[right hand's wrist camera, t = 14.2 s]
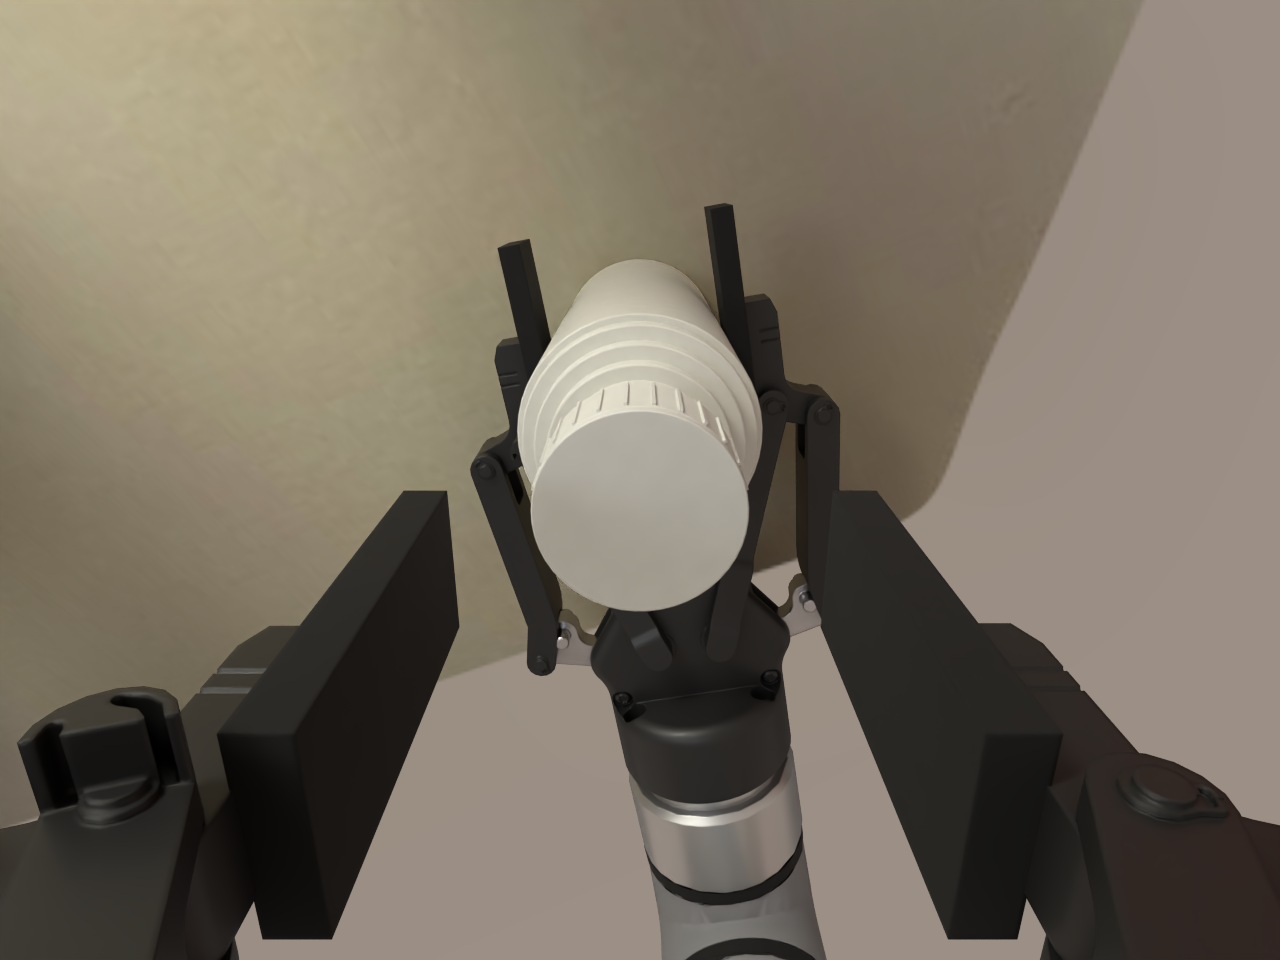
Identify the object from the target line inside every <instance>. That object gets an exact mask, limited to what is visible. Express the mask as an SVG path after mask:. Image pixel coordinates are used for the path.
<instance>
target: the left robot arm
mask: <svg viewBox="0 0 1280 960" xmlns="http://www.w3.org/2000/svg"><path fill="white" fill-rule="evenodd" d="M704 209H705V216H706V223H707V230H708V238H709V245H710V252H711V259H712V267H713V274H714V281H715V288H716V296H717V303H718V310H719V317H720V325H721V328H722V330H723V332H724V334H725V335H726V337H727V339H728V341H729V343H730V344H731V346H732V348H733V350H734V351H735V353H736V355H737V357H738V358H739V360H740V362H741V364H742V366H743V367H744V369H745V371H746V373H747V374H748V376H749V378H750V380H751V382H752V384H753V387H754V389H755V392H756V394H757V397H758V401H759V405H760V410H761V417H762V444H761V450H760V456H759V459H758V463H757V466H756V469H755V472H754V474H753V476H752V478H751V480H750V482H749V485H748V489H749V490H747V493H748V502H749V521H748V527H747V532H746V536H745V539H744V542H743V545H742V547H741V549H740V551H739V554H738V556H737V558H736V559H735V561H734V562H733V564H732V565H731V567H730V568H729V569H728V571H727V572H726V573H725V574H724V575H723V576H722V577H721V579H720V580H718V581H717V582H716V583H715V584H714V585H713V586H712V587H711V588H709V589H708V590H706V591H705V592H703V593H702V594H700V595H699V596H697V597H695V598H693V599H691V600H689V601H687V602H685V603H682V604H679V605H677V606H674V607H670V608H666V609H662V610H654V611H626V610H619V609H614V608H610V607H609V609H608V611H607V612H606V614H605V616H604V618H603V620H602V622H601V624H600V625H599V627H598V629H597V631H596V633H595V635H591V634H588V633H586V632H584V631H583V630H582V628H581V627H580V624H579V620H578V618H577V616H576V615H575V614H573V612H572V611H571V610H569V609H564V610H562V596H561V590H560V587H559V583H558V580H557V577H556V575H555V573H554V572H553V571H552V570H551V568H550V567H549V565H548V564H547V563H546V561H545V560H544V558H543V556H542V554H541V552H540V550H539V548H538V545H537V542H536V540H535V537H534V533H533V528H532V523H531V503H530V500H529V497H528V495H527V492H526V489H525V486H524V483H523V480H522V477H521V475H520V472H519V469H518V468H519V467H520V466H523V463H522V461H521V456H520V451H519V446H518V433H517V427H518V414H519V409H520V404H521V400H522V397H523V394H524V391H525V388H526V386H527V384H528V382H529V380H530V378H531V376H532V374H533V372H534V370H535V368H536V367H537V365H538V363H539V361H540V360H541V358H542V356H543V354H544V352H545V351H546V349H547V347H548V345H549V344H550V342H551V337H550V332H549V328H548V323H547V318H546V314H545V309H544V304H543V300H542V295H541V290H540V286H539V281H538V276H537V272H536V267H535V262H534V258H533V253H532V248H531V244H530V239H527V240H521V241H516V242H511V243H508V244H506V245H503V246H501V247H499V248H498V252H499V257H500V261H501V265H502V270H503V274H504V278H505V283H506V287H507V292H508V296H509V300H510V305H511V309H512V313H513V318H514V322H515V327H516V331H517V335H518V337H514V338H509V339H503V340H502V341H501V342H500V343H499V345H498V346H497V348H496V355H495V365H496V369H497V373H498V376H499V381H500V385H501V390H502V394H503V398H504V402H505V406H506V410H507V414H508V419H509V425H510V427H509V430H507V431H506V432H504V433H503V434H501V435H499V436H497V437H492V438H490V439H488V440H487V441H486V442H485V443H484V444H483V446H482V448H481V449H480V451H479V453H478V454H477V456H476V458H475V459H474V461H473V463H472V465H471V469H470V471H471V476H472V479H473V481H474V484H475V487H476V489H477V492H478V495H479V497H480V500H481V503H482V505H483V508H484V511H485V513H486V516H487V519H488V521H489V524H490V527H491V529H492V532H493V535H494V538H495V540H496V543H497V546H498V548H499V551H500V554H501V556H502V559H503V562H504V564H505V567H506V570H507V572H508V575H509V578H510V580H511V583H512V586H513V588H514V591H515V594H516V596H517V599H518V602H519V604H520V607H521V610H522V613H523V615H524V618H525V621H526V623H527V626H528V646H527V666H528V668H529V670H530V671H531V672H532V673H534V674H535V675H539V676H545V675H548V674H550V673H552V671H553V670H554V669H555V666H556V664H570V665H585V666H591V667H592V669H593V671H594V673H595V674H596V675H597V677H598V678H599V679H601V680H602V681H603V683H604V684H605V685H606V687H607V688H608V690H609V693H610V696H611V700H612V704H613V709H614V713H615V718H616V722H617V727H618V731H619V736H620V740H621V745H622V749H623V754H624V758H625V762H626V766H627V768H628V770H629V772H630V777H629V782H630V786H631V790H632V794H633V799H634V803H635V807H636V811H637V815H638V820H639V824H640V828H641V832H642V837H643V841H644V846H645V851H646V854H647V858H648V861H649V864H650V869H651V874H652V880H653V885H654V891H655V896H656V901H657V907H658V913H659V920H660V928H661V946H662V960H826V956H825V951H824V947H823V943H822V939H821V935H820V931H819V927H818V923H817V918H816V913H815V909H814V904H813V898H812V893H811V886H810V880H809V874H808V868H807V862H806V856H805V850H804V844H803V831H802V815H801V808H800V800H799V793H798V786H797V779H796V772H795V765H794V757H793V751H792V749H791V747H790V743H791V734H790V727H789V719H788V711H787V704H786V696H785V689H784V681H783V674H782V661H783V657H784V655H785V652H786V650H787V648H788V646H789V643H790V637H791V636H793V635H796V634H799V633H801V632H804V631H807V630H809V629H812V628H814V627H817V626H820V625H821V617H822V606H823V595H824V584H825V573H826V562H827V551H828V540H829V529H830V518H831V507H832V496H833V491H839V458H840V411H839V408H838V406H837V405H836V404H835V402H834V401H833V400H832V399H831V398H830V397H829V396H828V394H827V393H826V392H825V391H824V390H823V389H822V388H821V387H819V386H818V385H814V384H809V385H801V384H796V383H792V382H789V381H787V380H785V376H784V368H783V359H782V351H781V342H780V333H779V324H778V315H777V311H776V309H775V307H774V305H773V303H772V302H771V300H770V298H769V297H767V296H766V295H765V294H759V295H754V296H748V297H744V291H743V283H742V275H741V267H740V259H739V251H738V244H737V236H736V228H735V220H734V212H733V205H730V204H726V203H723V204H717V205H712V206H706V207H704ZM786 422H791V423H796V546H797V557H798V562H799V566H800V569H801V572H802V574H801V573H800V574H796V575H795V576H794V577H793V579H792V580H791V582H790V583H789V587H788V588H789V598H788V600H787V602H786V603H785V604H784V605H782V606H780V607H778V606H777V605H776V604H775V603H773V602H772V601H771V600H770V599H769V598H768V597H767V596H766V595H765V594H764V593H763V592H761V591H760V590H759V589H758V588H757V587H756V586H755V585H754V584H753V583H752V582H751V579H752V574H753V559H754V553H755V549H756V545H757V541H758V537H759V532H760V528H761V524H762V520H763V516H764V512H765V507H766V503H767V499H768V495H769V491H770V486H771V482H772V478H773V474H774V470H775V465H776V461H777V457H778V453H779V449H780V444H781V440H782V436H783V432H784V428H785V423H786ZM523 468H524V466H523Z"/></svg>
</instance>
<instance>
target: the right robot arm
mask: <svg viewBox="0 0 1280 960" xmlns="http://www.w3.org/2000/svg"><path fill="white" fill-rule="evenodd" d="M458 629H459V617H458V606H457V595H456V584H455V573H454V562H453V551H452V540H451V529H450V518H449V507H448V496H447V491H403V492H402V494H401V495H400V496H399V498H398V499H397V500H396V501H395V503H394V504H393V505H392V507H391V508H390V509H389V511H388V512H387V513H386V514H385V516H384V517H383V518H382V520H381V521H380V522H379V524H378V525H377V526H376V527H375V529H374V530H373V531H372V533H371V534H370V535H369V536H368V538H367V539H366V540H365V542H364V543H363V544H362V546H361V547H360V548H359V549H358V551H357V552H356V553H355V555H354V556H353V557H352V559H351V560H350V561H349V562H348V564H347V565H346V566H345V568H344V569H343V570H342V572H341V573H340V574H339V575H338V577H337V578H336V579H335V581H334V582H333V583H332V585H331V586H330V587H329V588H328V590H327V591H326V592H325V594H324V595H323V596H322V598H321V599H320V600H319V601H318V603H317V604H316V605H315V607H314V608H313V609H312V610H311V612H310V613H309V614H308V616H307V617H306V618H305V620H304V621H303V622H302V623H301V625H300V626H269V627H267V628H266V629H264V630H263V631H261V632H259V633H258V634H256V635H254V636H253V637H251V638H250V639H248V640H246V641H245V642H243V643H242V644H240V645H238V646H237V647H236V649H235V650H234V651H233V652H232V653H231V654H230V655H229V657H228V658H227V659H226V660H225V661H224V662H223V663H222V665H221V666H220V667H219V668H218V669H217V670H218V672H217V674H213V675H212V676H211V677H210V678H209V680H208V681H207V682H206V683H205V684H204V685H203V686H202V688H201V691H200V694H195V696H194V697H193V698H192V699H191V700H190V701H189V702H188V704H187V705H186V706H185V707H184V708H183V709H182V711H181V712H180V709H179V705H178V701H177V699H176V698H175V697H174V696H172V695H171V694H170V693H168V692H167V691H166V690H162V689H156V688H151V687H145V686H142V687H129V688H117V689H113V690H109V691H105V692H102V693H98V694H94V695H90V696H86V697H84V698H82V699H79V700H77V701H75V702H73V703H70V704H68V705H66V706H63V707H61V708H59V709H57V710H55V711H54V712H52V713H51V714H49V715H48V716H46V717H45V718H43V719H42V720H40V721H39V722H37V723H35V724H34V725H33V726H32V727H31V728H30V729H29V730H28V731H27V732H26V733H25V735H24V736H23V737H22V738H21V739H20V740H19V741H18V742H17V745H18V748H19V751H20V754H21V757H22V760H23V763H24V766H25V769H26V772H27V775H28V778H29V781H30V784H31V787H32V790H33V793H34V796H35V799H36V802H37V805H38V808H39V811H40V816H39V818H38V820H37V821H33V822H30V823H26V824H21V825H17V826H12V827H8V828H3V829H0V960H239V955H238V950H237V946H236V941H235V935H236V933H237V932H238V930H239V928H240V926H241V924H242V922H243V920H244V918H245V917H246V915H247V913H248V911H249V909H250V907H251V905H252V904H253V902H254V903H255V908H256V912H257V916H258V921H259V925H260V930H261V934H262V939H332V938H333V935H334V933H335V930H336V928H337V925H338V923H339V920H340V918H341V916H342V913H343V911H344V908H345V906H346V903H347V901H348V899H349V896H350V894H351V891H352V889H353V886H354V884H355V881H356V879H357V876H358V874H359V872H360V869H361V867H362V864H363V862H364V859H365V857H366V854H367V852H368V850H369V847H370V845H371V842H372V839H373V837H374V835H375V832H376V830H377V827H378V825H379V823H380V820H381V818H382V815H383V813H384V810H385V808H386V805H387V803H388V800H389V798H390V796H391V793H392V791H393V788H394V786H395V783H396V781H397V778H398V776H399V773H400V771H401V769H402V766H403V764H404V761H405V759H406V756H407V754H408V751H409V749H410V747H411V744H412V742H413V739H414V737H415V734H416V732H417V729H418V727H419V725H420V722H421V720H422V717H423V715H424V712H425V710H426V707H427V705H428V702H429V700H430V697H431V695H432V693H433V690H434V688H435V685H436V683H437V680H438V678H439V675H440V673H441V671H442V668H443V666H444V663H445V661H446V658H447V656H448V653H449V651H450V649H451V646H452V644H453V641H454V639H455V636H456V634H457V631H458ZM821 629H822V631H823V634H824V636H825V639H826V641H827V644H828V646H829V649H830V651H831V653H832V656H833V658H834V661H835V663H836V666H837V668H838V671H839V673H840V675H841V678H842V680H843V683H844V685H845V688H846V690H847V693H848V695H849V698H850V700H851V702H852V705H853V707H854V710H855V712H856V715H857V717H858V720H859V722H860V724H861V727H862V729H863V732H864V734H865V737H866V739H867V742H868V744H869V747H870V749H871V751H872V754H873V756H874V759H875V761H876V764H877V766H878V769H879V771H880V773H881V776H882V778H883V781H884V783H885V786H886V788H887V791H888V793H889V795H890V798H891V800H892V803H893V805H894V808H895V810H896V813H897V815H898V818H899V820H900V823H901V825H902V827H903V830H904V832H905V835H906V837H907V840H908V842H909V845H910V847H911V849H912V852H913V854H914V857H915V859H916V862H917V864H918V867H919V869H920V872H921V874H922V876H923V879H924V881H925V884H926V886H927V889H928V891H929V894H930V896H931V898H932V901H933V903H934V906H935V908H936V911H937V913H938V916H939V918H940V921H941V923H942V925H943V928H944V930H945V933H946V935H947V938H948V939H1018V934H1019V930H1020V925H1021V921H1022V916H1023V912H1024V907H1025V903H1026V899H1027V900H1028V901H1029V903H1030V905H1031V907H1032V909H1033V911H1034V913H1035V914H1036V916H1037V918H1038V920H1039V922H1040V924H1041V925H1042V927H1043V929H1044V931H1045V933H1046V937H1045V942H1044V946H1043V950H1042V954H1041V958H1040V960H1280V825H1275V824H1271V823H1266V822H1261V821H1257V820H1252V819H1249V818H1245V817H1242V816H1241V814H1240V813H1239V811H1238V810H1237V809H1236V807H1235V806H1234V805H1233V803H1232V802H1231V801H1230V799H1229V798H1228V797H1227V795H1226V794H1225V793H1224V792H1222V791H1221V790H1220V789H1218V788H1217V787H1216V786H1214V785H1213V784H1212V783H1211V782H1209V781H1208V780H1207V779H1205V778H1204V777H1203V776H1201V775H1199V774H1197V773H1195V772H1193V771H1191V770H1189V769H1187V768H1185V767H1183V766H1181V765H1179V764H1177V763H1175V762H1172V761H1168V760H1165V759H1162V758H1158V757H1155V756H1151V755H1148V754H1143V753H1139V752H1138V751H1137V750H1136V749H1135V748H1134V747H1133V746H1132V744H1131V743H1130V742H1129V741H1128V740H1127V739H1126V738H1125V736H1124V735H1123V734H1122V733H1121V732H1120V731H1119V730H1118V728H1117V727H1116V726H1115V725H1114V724H1113V723H1112V722H1111V720H1110V719H1109V718H1108V717H1107V716H1106V715H1105V714H1104V713H1103V711H1102V710H1101V709H1100V708H1099V707H1098V706H1097V705H1096V703H1095V702H1094V701H1093V700H1092V699H1091V698H1090V697H1089V695H1088V694H1087V693H1086V692H1085V691H1081V690H1080V685H1079V684H1078V683H1077V682H1076V681H1075V679H1074V678H1073V677H1072V676H1071V675H1070V674H1069V673H1068V672H1067V671H1063V666H1062V665H1061V664H1060V662H1059V661H1058V660H1057V659H1056V658H1055V657H1054V655H1053V654H1052V653H1051V652H1050V651H1049V650H1048V649H1047V648H1046V646H1045V645H1044V644H1043V643H1042V642H1040V641H1038V640H1037V639H1035V638H1033V637H1032V636H1030V635H1029V634H1027V633H1025V632H1024V631H1022V630H1021V629H1019V628H1017V627H1016V626H1014V625H1012V624H1011V623H978V622H977V621H976V620H975V618H974V617H973V616H972V614H971V613H970V612H969V610H968V609H967V608H966V607H965V605H964V604H963V603H962V601H961V600H960V599H959V598H958V596H957V595H956V594H955V592H954V591H953V590H952V588H951V587H950V586H949V585H948V583H947V582H946V581H945V579H944V578H943V577H942V576H941V574H940V573H939V572H938V570H937V569H936V568H935V566H934V565H933V564H932V562H931V561H930V560H929V559H928V557H927V556H926V555H925V553H924V552H923V551H922V550H921V548H920V547H919V546H918V544H917V543H916V542H915V540H914V539H913V538H912V536H911V535H910V534H909V533H908V531H907V530H906V529H905V527H904V526H903V525H902V524H901V522H900V521H899V520H898V518H897V517H896V516H895V514H894V513H893V512H892V511H891V509H890V508H889V507H888V505H887V504H886V503H885V501H884V500H883V499H882V498H881V496H880V495H879V494H878V492H877V491H833V496H832V507H831V518H830V529H829V540H828V551H827V562H826V573H825V584H824V595H823V606H822V617H821Z"/></svg>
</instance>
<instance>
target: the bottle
mask: <svg viewBox="0 0 1280 960" xmlns="http://www.w3.org/2000/svg"><path fill="white" fill-rule="evenodd" d="M627 382H628V383H629V384H651V382H653V383H655V385H659V386H663V387H667V388H671V389H674V390H676V388H677V389H680V392H682V393H684V394H686V395H687V396H689V397H691V398H693V399H695V400H696V401H697V402H698V401H699V400H700V401H701V402H702V404H703V406H704V407H705V408H706V409H707V410H709V411H710V412H711V413H712V414H713V415H714V416H715V418H717V417H719V419H720V421H721V424H722V427H723V429H724V430H725V432H726V434H727V436H728V438H732V440H733V442H734V445H735V448H736V451H737V453H738V456H739V459H740V462H741V468H742V471H743V474H744V477H745V479H746V482H747V485H749V482H750V480H751V478H752V476H753V474H754V472H755V469H756V466H757V463H758V459H759V456H760V450H761V444H762V417H761V410H760V405H759V401H758V397H757V394H756V392H755V389H754V387H753V384H752V382H751V380H750V378H749V376H748V374H747V373H746V371H745V369H744V367H743V366H742V364H741V362H740V360H739V358H738V357H737V355H736V353H735V351H734V350H733V348H732V346H731V344H730V343H729V341H728V339H727V337H726V335H725V334H724V332H723V330H722V328H721V327H720V325H719V323H718V321H717V319H716V318H715V316H714V314H713V312H712V311H711V309H710V307H709V305H708V304H707V302H706V300H705V298H704V296H703V295H702V293H701V291H700V290H699V289H698V287H697V286H696V285H695V284H694V283H693V282H692V281H691V280H690V279H689V278H688V277H687V276H686V275H685V274H683V273H682V272H681V271H679V270H677V269H676V268H674V267H672V266H670V265H667V264H665V263H662V262H658V261H654V260H647V259H632V260H626V261H622V262H618V263H615V264H613V265H610V266H608V267H606V268H604V269H603V270H601V271H599V272H598V273H596V274H595V275H594V276H593V277H592V278H590V279H589V280H588V281H587V283H586V284H585V285H584V286H583V287H582V289H581V290H580V291H579V293H578V294H577V296H576V298H575V300H574V301H573V303H572V305H571V307H570V308H569V310H568V312H567V314H566V315H565V317H564V319H563V321H562V322H561V324H560V326H559V328H558V330H557V331H556V333H555V335H554V337H553V338H552V340H551V342H550V344H549V345H548V347H547V349H546V351H545V352H544V354H543V356H542V358H541V360H540V361H539V363H538V365H537V367H536V368H535V370H534V372H533V374H532V376H531V378H530V380H529V382H528V384H527V386H526V388H525V391H524V394H523V397H522V400H521V404H520V409H519V414H518V427H517V433H518V446H519V451H520V456H521V461H522V463H523V466H524V469H525V472H526V475H527V477H528V479H529V481H530V483H531V485H533V482H534V479H535V476H536V473H537V471H538V468H539V466H538V464H539V461H540V458H541V456H542V453H543V450H544V447H545V445H546V442H547V439H548V438H550V439H551V437H552V435H553V434H554V432H555V430H556V428H557V426H558V423H559V420H560V418H561V417H562V418H564V417H565V416H566V415H567V414H568V413H569V412H570V411H571V410H572V409H573V408H575V407H576V406H577V402H578V401H580V400H581V402H582V401H584V400H585V399H587V398H589V397H590V396H592V395H594V394H596V393H599V391H600V389H602V388H603V389H604V390H606V389H609V388H613V387H616V386H621V385H625V383H627Z"/></svg>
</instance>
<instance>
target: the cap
mask: <svg viewBox="0 0 1280 960" xmlns="http://www.w3.org/2000/svg"><path fill="white" fill-rule="evenodd" d="M538 466H539V468H538V471H537V473H536V476H535V479H534V482H533V485H532V488H531V490H532V491H533V493H532V498H531V523H532V528H533V533H534V537H535V540H536V542H537V545H538V548H539V550H540V552H541V554H542V556H543V558H544V560H545V561H546V563H547V564H548V565H549V567H550V568H551V570H552V571H553V572H554V573H555V574H556V575H557V576H558V578H559V579H560V580H561V581H562V582H564V583H565V584H566V585H567V586H568V587H569V588H571V589H572V590H573V591H575V592H577V593H578V594H580V595H581V596H583V597H585V598H587V599H589V600H591V601H593V602H595V603H598V604H600V605H603V606H606V607H610V608H614V609H619V610H626V611H654V610H662V609H666V608H670V607H674V606H677V605H679V604H682V603H685V602H687V601H689V600H691V599H693V598H695V597H697V596H699V595H700V594H702V593H703V592H705V591H706V590H708V589H709V588H711V587H712V586H713V585H714V584H715V583H716V582H717V581H718V580H720V579H721V577H722V576H723V575H724V574H725V573H726V572H727V571H728V569H729V568H730V567H731V565H732V564H733V562H734V561H735V559H736V558H737V556H738V554H739V551H740V549H741V547H742V545H743V542H744V539H745V536H746V532H747V527H748V521H749V502H748V493H747V490H749V489H748V485H747V482H746V479H745V477H744V474H743V471H742V468H741V462H740V459H739V456H738V453H737V451H736V448H735V445H734V442H733V440H732V438H728V436H727V434H726V432H725V430H724V429H723V427H722V424H721V421H720V419H719V417H717V418H715V416H714V415H713V414H712V413H711V412H710V411H709V410H707V409H706V408H705V407H704V406H703V404H702V402H701V401H700V400H699V401H698V402H697V401H696V400H695V399H693V398H691V397H689V396H687V395H686V394H684V393H682V392H680V389H677V388H676V390H674V389H671V388H667V387H663V386H659V385H655V383H653V382H651V384H629V383H628V382H627V383H625V385H621V386H616V387H613V388H609V389H606V390H604V389H603V388H602V389H600V391H599V393H596V394H594V395H592V396H590V397H589V398H587V399H585V400H584V401H582V402H581V400H580V401H578V402H577V406H576V407H575V408H573V409H572V410H571V411H570V412H569V413H568V414H567V415H566V416H565V417H564V418H562V417H561V418H560V420H559V423H558V426H557V428H556V430H555V432H554V434H553V435H552V437H551V439H550V438H548V439H547V442H546V445H545V447H544V450H543V453H542V456H541V458H540V461H539V464H538Z"/></svg>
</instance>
